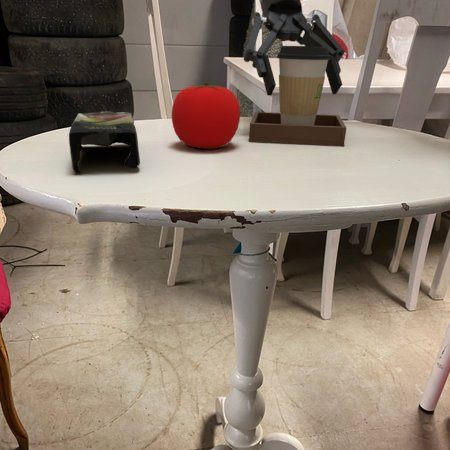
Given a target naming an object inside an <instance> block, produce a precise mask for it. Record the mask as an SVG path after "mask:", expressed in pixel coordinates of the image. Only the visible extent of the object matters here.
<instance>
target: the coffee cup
mask: <svg viewBox="0 0 450 450" xmlns="http://www.w3.org/2000/svg"><path fill="white" fill-rule="evenodd" d="M276 58H277V59H278V61H279V62H278V63H279V64H278V66H279V69H278V71H279V74H278V92H279V93H278V95H279V96H278V97H279V113H281V124H289V125H313V126H314V123H315V118H316V114H317V115H318V111H319V107H320V103H321V97H322V93H323V89H324V84H325V80H326V67H327V62H328V60H330V55H329V53H328V47H317V46H305V45H281V46H280V49H279V52H278V53H277V56H276Z"/></svg>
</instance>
